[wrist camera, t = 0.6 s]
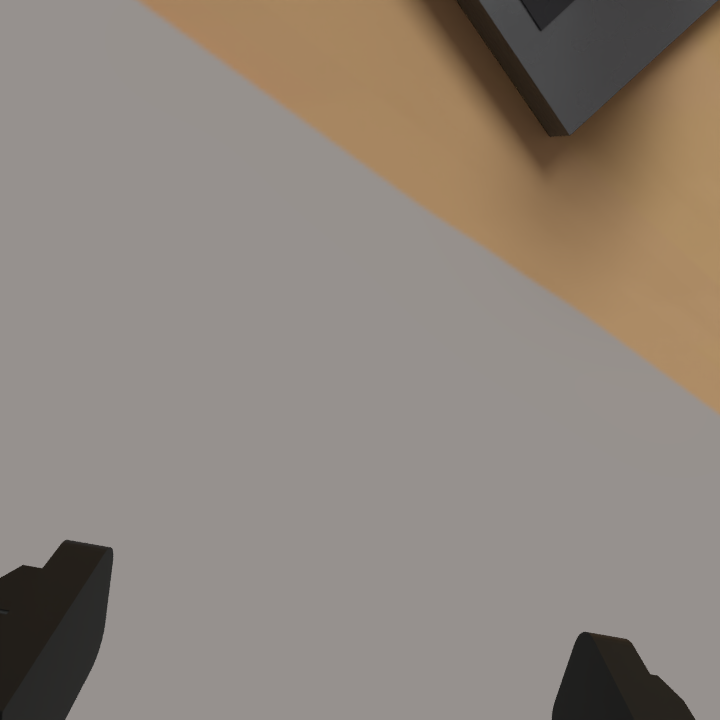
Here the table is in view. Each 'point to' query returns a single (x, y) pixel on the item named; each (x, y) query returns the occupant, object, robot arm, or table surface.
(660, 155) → the table surface
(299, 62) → the table surface
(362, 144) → the table surface
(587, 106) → the socket plate
